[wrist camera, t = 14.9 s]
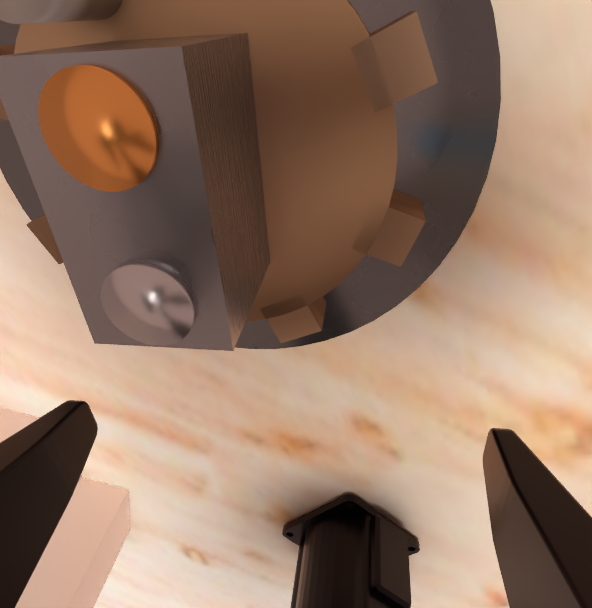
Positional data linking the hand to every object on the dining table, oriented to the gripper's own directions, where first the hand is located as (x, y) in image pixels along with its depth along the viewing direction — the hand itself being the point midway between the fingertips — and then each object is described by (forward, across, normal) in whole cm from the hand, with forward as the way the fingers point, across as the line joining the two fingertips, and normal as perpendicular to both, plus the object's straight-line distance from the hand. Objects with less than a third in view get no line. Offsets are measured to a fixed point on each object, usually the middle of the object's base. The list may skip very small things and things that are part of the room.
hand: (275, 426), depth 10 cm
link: (+7, +4, -4) cm, 9 cm away
